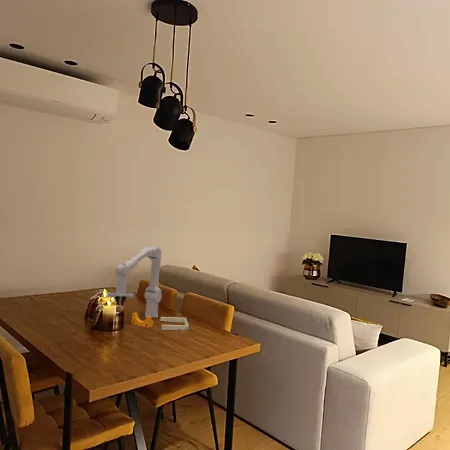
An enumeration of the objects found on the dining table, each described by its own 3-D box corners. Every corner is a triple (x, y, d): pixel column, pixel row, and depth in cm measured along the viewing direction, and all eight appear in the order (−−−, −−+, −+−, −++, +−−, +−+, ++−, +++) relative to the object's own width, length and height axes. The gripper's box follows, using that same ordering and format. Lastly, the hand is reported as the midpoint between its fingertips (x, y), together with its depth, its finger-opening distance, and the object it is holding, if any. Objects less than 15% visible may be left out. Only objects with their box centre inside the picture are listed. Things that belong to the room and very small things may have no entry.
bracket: (160, 321, 258) (160, 316, 258) (185, 321, 261) (185, 317, 261) (161, 329, 241) (162, 325, 241) (188, 330, 244) (188, 326, 244)
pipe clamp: (152, 326, 246) (153, 315, 246) (148, 328, 242) (149, 317, 242) (136, 322, 251) (137, 311, 251) (131, 324, 247) (132, 313, 247)
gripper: (107, 286, 239) (106, 310, 239) (134, 287, 241) (132, 311, 242) (108, 284, 245) (106, 307, 246) (134, 285, 248) (132, 308, 249)
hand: (119, 309), depth 244 cm, fingers closed
